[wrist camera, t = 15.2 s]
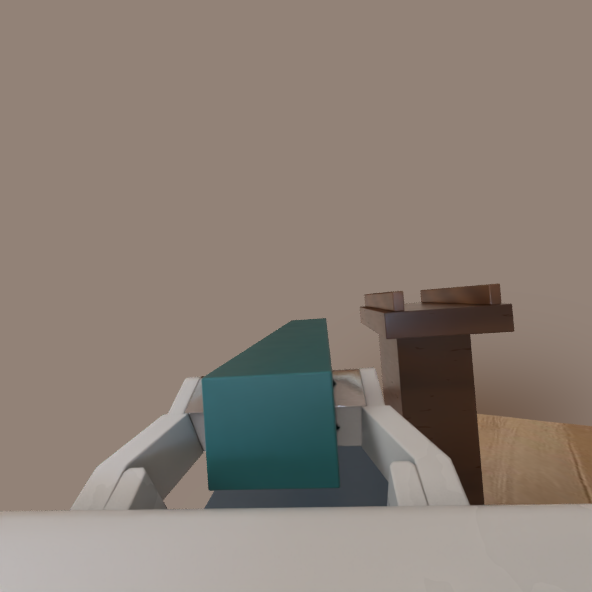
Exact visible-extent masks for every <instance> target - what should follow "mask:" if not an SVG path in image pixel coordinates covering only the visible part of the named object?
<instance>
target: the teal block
mask: <svg viewBox="0 0 592 592" xmlns="http://www.w3.org/2000/svg"><path fill="white" fill-rule="evenodd" d="M201 383H202V398H203V413H204V428H205V443H206V458H207V473H208V488H209V490H210V491H215V490H268V489H321V488H340V472H339V458H338V445H337V431H336V418H335V404H334V391H333V377H332V367H331V358H330V349H329V340H328V332H327V323H326V318H323V319H308V320H293V321H290V322H289V323H287V324H286V325H284V326H282V327H281V328H279V329H278V330H276V331H275V332H273V333H271V334H270V335H268V336H267V337H265V338H264V339H262V340H261V341H259V342H258V343H256V344H254V345H253V346H251V347H250V348H248V349H247V350H245V351H244V352H242V353H240V354H239V355H237V356H236V357H234V358H233V359H231V360H230V361H228V362H226V363H225V364H223V365H222V366H220V367H219V368H217V369H215V370H214V371H213V372H211V373H209V374H208V375H206V376H205V377H203V378H202V379H201Z"/></svg>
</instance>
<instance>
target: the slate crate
mask: <svg viewBox="0 0 592 592" xmlns="http://www.w3.org/2000/svg"><path fill="white" fill-rule="evenodd" d="M338 458H339V472H340V488H321V489H268V490H215V491H214V492H213V494H212V496H211V498H210V500H209V501H208V503H207V505H206V506H205V508H204V509H218V508H295V507H367V506H387V499H388V484H389V482H388V481H387V480H386V478H385V477H384V476H383V474H382V473H381V472H380V470H379V469H378V468H377V466H376V465H375V464H374V462H373V461H372V460H371V459H370V457H369V456H368V455H367V453H366V452H365V451H364V449H363V448H362V446H338Z"/></svg>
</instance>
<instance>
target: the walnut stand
mask: <svg viewBox="0 0 592 592" xmlns="http://www.w3.org/2000/svg"><path fill="white" fill-rule="evenodd" d="M360 317H361V323H362V324H364V325H366V326H367V327H369V328H370V329H372V330H373V331H375V332H376V333H378V334H379V342H380V356H381V368H382V381H383V394H384V403H385V405H390V406H391V407H392V408H393V409H395V410H396V411H397V412H398V413H399V414H400V415H401V416H403V417H404V418H405V419H406V420H407V421H408V422H409V423H411V424H412V425H413V426H414V427H415V428H416V429H417V430H419V431H420V432H421V433H422V434H423V435H424V436H425V437H427V438H428V439H429V440H430V441H431V442H432V443H433V444H435V445H436V446H437V447H438V448H439V449H440V450H441V451H443V452H444V453H445V454H446V455H447V456H448V457H449V458H451V461H452V463H453V465H454V468H455V470H456V473H457V475H458V477H459V480H460V482H461V485H462V487H463V489H464V492H465V494H466V497H467V499H468V501H469V504H470V505H484V496H483V484H482V472H481V460H480V447H479V435H478V423H477V411H476V399H475V387H474V376H473V363H472V352H471V339H470V334H482V333H498V332H513V331H514V323H513V311H512V304H502V303H501V293H500V284H488V285H477V286H465V287H453V288H442V289H431V290H421V302H420V303H409V304H408V303H406V304H404V297H403V291H395V292H385V293H374V294H366V295H365V307H360Z"/></svg>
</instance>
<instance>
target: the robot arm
mask: <svg viewBox="0 0 592 592" xmlns="http://www.w3.org/2000/svg"><path fill="white" fill-rule="evenodd" d="M203 377H205V376H202V377H188V378H186V379H185V380H184V382H183V384H182V386H181V388H180V390H179V392H178V394H177V396H176V398H175V400H174V402H173V404H172V406H171V409H170V410H169V412H168V414H167V415H162V416H161V417H160V418H158V419H157V420H156V421H155V422H153V423H152V424H151V425H150V426H148V427H147V428H146V429H145V430H143V431H142V432H141V433H139V434H138V435H137V436H136V437H134V438H133V439H132V440H131V441H129V442H128V443H127V444H125V445H124V446H123V447H122V448H120V449H119V450H118V451H116V452H115V453H114V454H113V455H111V456H110V457H109V458H108V459H106V460H105V461H104V462H103V463H101V464H100V465H99V466H97V468H96V469H95V471H94V472H93V474H92V475H91V477H90V479H89V480H88V482H87V483H86V485H85V486H84V488H83V490H82V491H81V493H80V494H79V496H78V498H77V499H76V501H75V502H74V504H73V506H72V507H71V509H70V510H64V511H63V510H61V511H0V592H592V504H522V505H470V504H469V501H468V499H467V497H466V494H465V492H464V489H463V487H462V485H461V482H460V480H459V477H458V475H457V473H456V470H455V468H454V465H453V463H452V461H451V458H449V457H448V456H447V455H446V454H445V453H444V452H443V451H441V450H440V449H439V448H438V447H437V446H436V445H435V444H433V443H432V442H431V441H430V440H429V439H428V438H427V437H425V436H424V435H423V434H422V433H421V432H420V431H419V430H417V429H416V428H415V427H414V426H413V425H412V424H411V423H409V422H408V421H407V420H406V419H405V418H404V417H403V416H401V415H400V414H399V413H398V412H397V411H396V410H395V409H393V408H392V407H391V406H390V405H385V403H384V399H383V395H382V392H381V388H380V384H379V380H378V377H377V373H376V369H375V368H360V369H346V370H332V377H333V391H334V404H335V418H336V431H337V445H338V446H362V448H363V449H364V451H365V452H366V453H367V455H368V456H369V457H370V459H371V460H372V461H373V462H374V464H375V465H376V466H377V468H378V469H379V470H380V472H381V473H382V474H383V476H384V477H385V478H386V480H387V481H388V482H389V484H388V499H387V506H367V507H295V508H218V509H167V507H166V505H165V504H164V502H163V500H164V498H165V497H166V496H167V495H168V494H169V493H170V491H171V490H172V489H173V488H174V487H175V485H176V484H177V483H178V482H179V481H180V480H181V478H182V477H183V476H184V475H185V474H186V473H187V471H188V470H189V469H190V468H191V467H192V465H193V464H194V463H195V462H196V461H197V460H198V458H199V457H200V456H201V455H202V454H203V451H206V443H205V428H204V413H203V398H202V383H201V379H202V378H203Z"/></svg>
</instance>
